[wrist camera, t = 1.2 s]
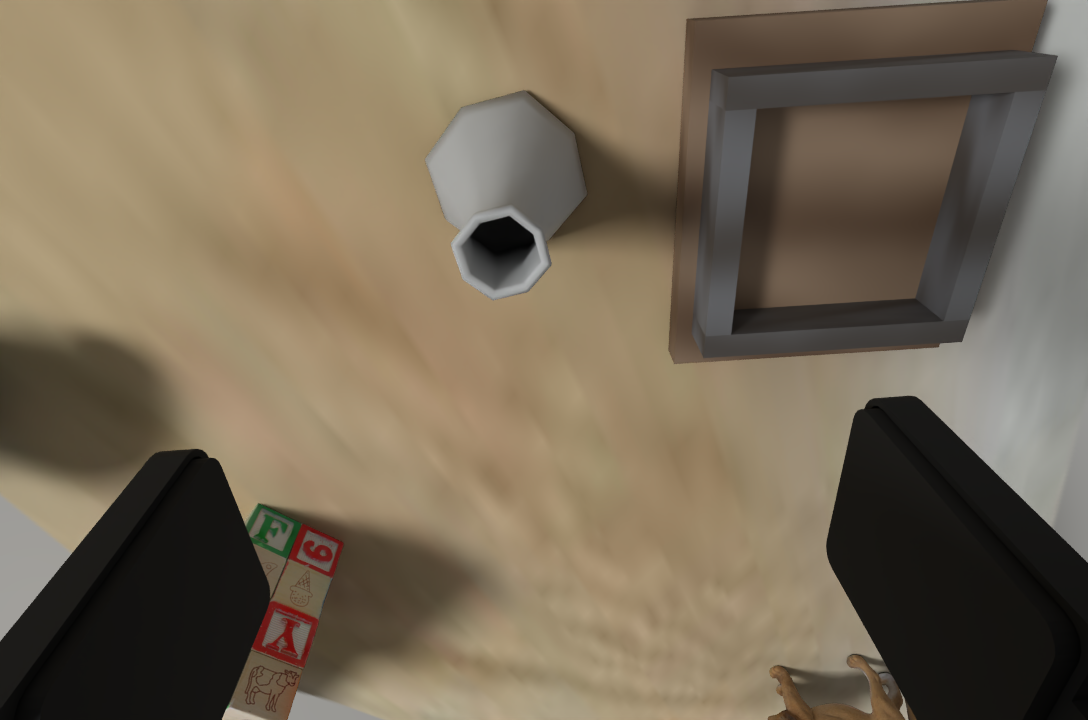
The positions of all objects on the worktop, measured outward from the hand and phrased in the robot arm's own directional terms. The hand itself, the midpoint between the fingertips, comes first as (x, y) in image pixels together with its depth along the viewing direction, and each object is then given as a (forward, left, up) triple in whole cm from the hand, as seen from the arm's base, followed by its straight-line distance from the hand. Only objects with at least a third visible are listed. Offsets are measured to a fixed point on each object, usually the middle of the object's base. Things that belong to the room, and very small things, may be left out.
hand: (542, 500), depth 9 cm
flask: (+1, -1, -23) cm, 23 cm away
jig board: (+3, +14, -23) cm, 27 cm away
